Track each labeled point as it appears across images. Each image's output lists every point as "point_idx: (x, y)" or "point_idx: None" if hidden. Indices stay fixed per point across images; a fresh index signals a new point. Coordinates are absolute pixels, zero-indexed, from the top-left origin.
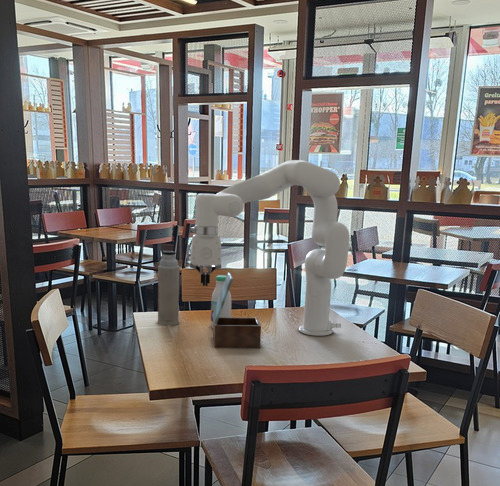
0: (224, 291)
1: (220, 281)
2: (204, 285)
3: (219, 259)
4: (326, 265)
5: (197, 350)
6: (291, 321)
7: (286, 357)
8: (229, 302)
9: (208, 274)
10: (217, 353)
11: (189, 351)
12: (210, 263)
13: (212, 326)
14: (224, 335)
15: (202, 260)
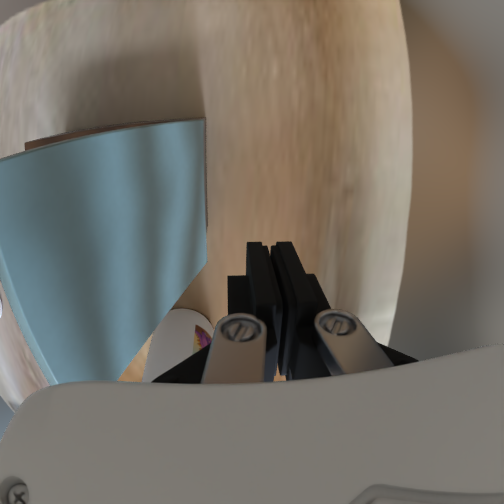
0: (106, 208)
1: None
2: (275, 246)
3: (2, 477)
4: None
5: (267, 90)
6: (33, 363)
7: (15, 63)
8: (145, 376)
9: (247, 314)
10: (200, 60)
11: (294, 82)
12: (229, 417)
13: (208, 322)
14: (164, 120)
15: (450, 440)
